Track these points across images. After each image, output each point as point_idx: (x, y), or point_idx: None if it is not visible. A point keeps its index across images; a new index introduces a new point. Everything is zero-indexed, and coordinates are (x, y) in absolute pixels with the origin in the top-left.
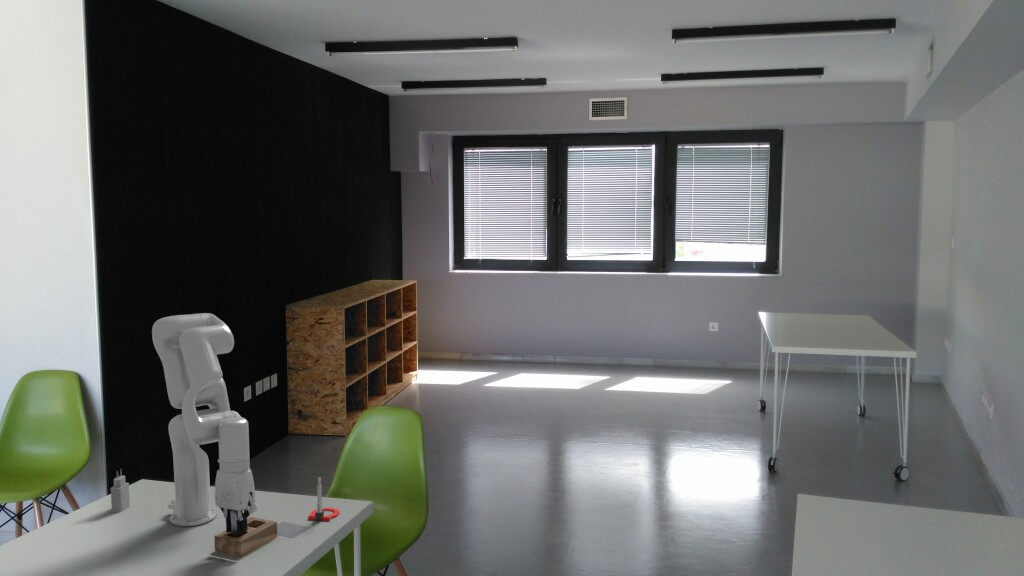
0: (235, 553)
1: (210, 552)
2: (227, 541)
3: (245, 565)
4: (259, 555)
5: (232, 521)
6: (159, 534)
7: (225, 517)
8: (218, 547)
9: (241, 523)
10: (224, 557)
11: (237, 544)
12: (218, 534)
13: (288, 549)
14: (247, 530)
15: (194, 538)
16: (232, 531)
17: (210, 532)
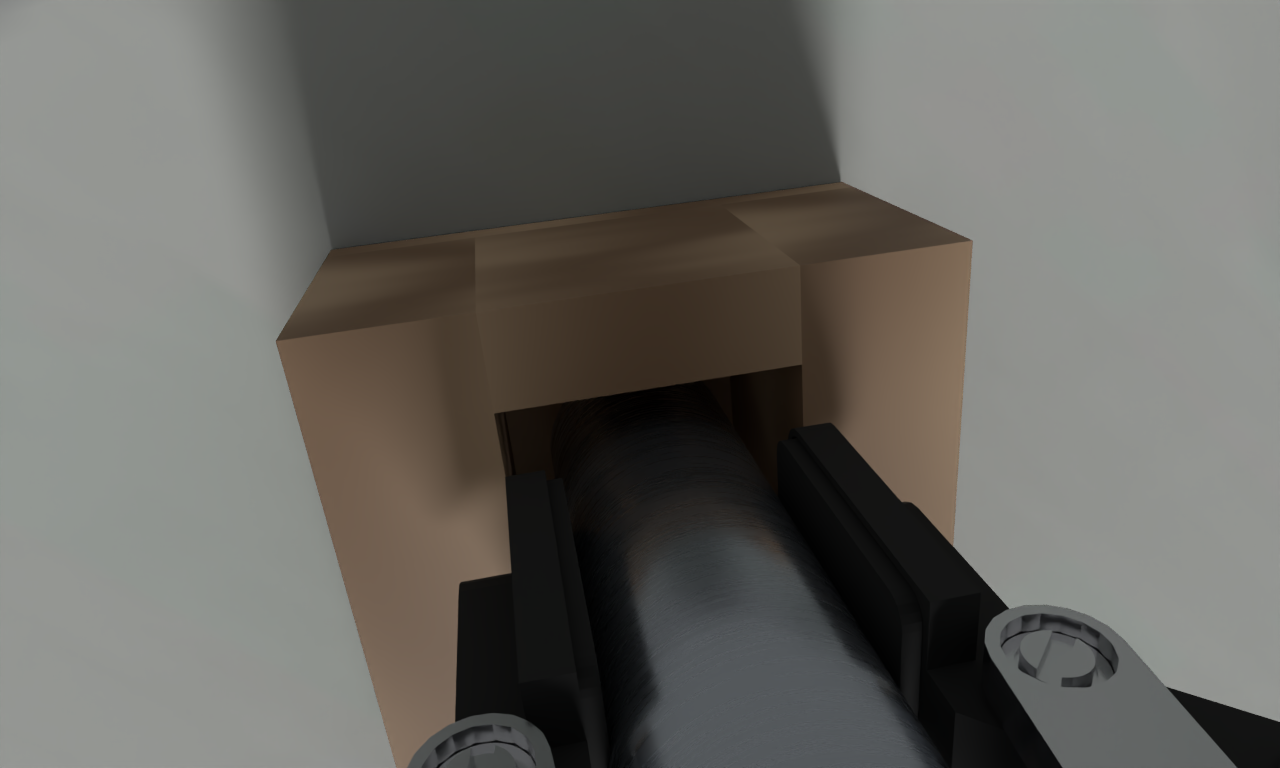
0: (448, 245)
1: (897, 146)
2: (639, 273)
3: (31, 103)
4: (198, 448)
5: (738, 607)
6: None
7: (1020, 613)
8: (804, 208)
9: (502, 682)
10: (586, 135)
11: (388, 303)
12: (945, 323)
13: (47, 747)
14: None
15: None
16: (684, 466)
17: (1260, 517)
